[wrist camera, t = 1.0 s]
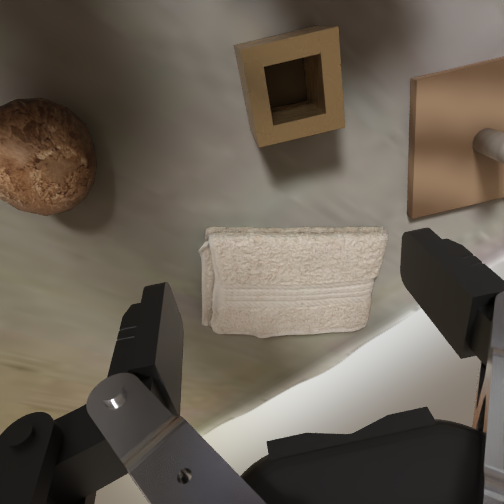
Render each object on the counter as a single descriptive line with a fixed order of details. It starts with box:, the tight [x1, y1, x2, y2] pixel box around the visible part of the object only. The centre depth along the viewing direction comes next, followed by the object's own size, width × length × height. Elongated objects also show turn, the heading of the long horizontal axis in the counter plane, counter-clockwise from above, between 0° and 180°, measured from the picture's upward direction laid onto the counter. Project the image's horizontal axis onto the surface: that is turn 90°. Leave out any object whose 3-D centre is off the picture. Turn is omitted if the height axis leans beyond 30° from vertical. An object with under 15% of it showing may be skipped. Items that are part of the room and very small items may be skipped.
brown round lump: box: [0, 98, 97, 216], centre depth 27 cm, size 8×8×6 cm
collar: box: [234, 26, 345, 147], centre depth 26 cm, size 6×6×5 cm
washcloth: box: [198, 226, 388, 338], centre depth 37 cm, size 12×18×3 cm, turn 88°
